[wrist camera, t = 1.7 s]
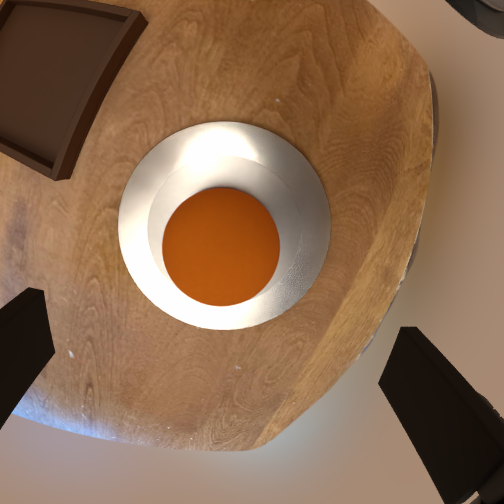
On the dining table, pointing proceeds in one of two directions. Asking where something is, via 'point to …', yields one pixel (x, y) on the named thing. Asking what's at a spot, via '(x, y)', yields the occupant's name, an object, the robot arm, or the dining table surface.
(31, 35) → the tray
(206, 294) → the orange
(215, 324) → the plate
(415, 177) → the dining table surface
